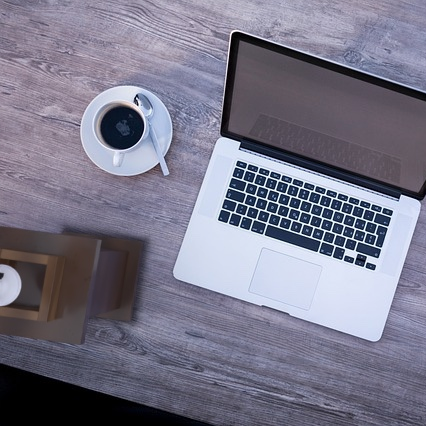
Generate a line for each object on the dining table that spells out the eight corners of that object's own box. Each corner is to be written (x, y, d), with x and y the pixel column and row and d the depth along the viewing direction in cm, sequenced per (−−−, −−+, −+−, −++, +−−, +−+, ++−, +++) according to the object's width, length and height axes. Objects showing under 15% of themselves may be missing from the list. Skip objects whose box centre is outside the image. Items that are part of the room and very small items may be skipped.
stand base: (52, 309, 102) (-28, 328, 77) (66, 231, 103) (-9, 224, 78) (131, 320, 102) (77, 342, 77) (144, 241, 103) (94, 238, 78)
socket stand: (-35, 327, 77) (-54, 331, 73) (-17, 223, 78) (-34, 221, 74) (84, 343, 77) (72, 348, 73) (101, 239, 78) (90, 239, 74)
